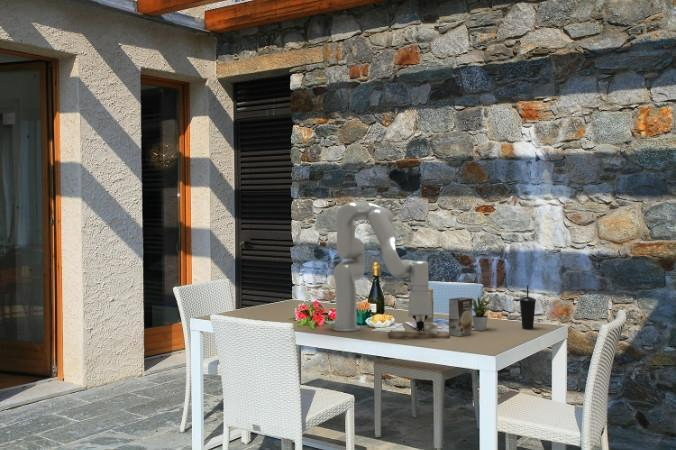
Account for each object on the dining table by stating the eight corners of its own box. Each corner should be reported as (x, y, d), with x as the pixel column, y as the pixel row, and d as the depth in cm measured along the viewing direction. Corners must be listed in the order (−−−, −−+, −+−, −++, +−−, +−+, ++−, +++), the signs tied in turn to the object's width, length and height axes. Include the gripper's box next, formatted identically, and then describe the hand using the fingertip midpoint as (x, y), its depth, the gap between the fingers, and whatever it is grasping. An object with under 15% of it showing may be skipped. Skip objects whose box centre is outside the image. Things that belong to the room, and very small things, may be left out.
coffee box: (459, 336, 323) (459, 300, 322) (448, 334, 327) (448, 298, 327) (472, 333, 329) (472, 298, 328) (461, 332, 334) (461, 296, 333)
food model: (436, 328, 342) (436, 286, 341) (429, 331, 337) (428, 287, 336) (418, 326, 348) (418, 284, 347) (411, 328, 343) (410, 286, 342)
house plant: (496, 333, 330) (496, 297, 329) (465, 332, 332) (465, 296, 332) (496, 327, 343) (496, 292, 343) (466, 326, 346) (466, 292, 346)
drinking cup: (517, 329, 339) (517, 286, 338) (521, 326, 346) (521, 284, 345) (534, 330, 335) (534, 286, 335) (537, 327, 342) (537, 285, 341)
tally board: (390, 338, 320) (389, 335, 319) (388, 334, 330) (388, 331, 329) (449, 338, 319) (449, 335, 319) (446, 333, 329) (446, 330, 329)
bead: (425, 334, 321) (425, 325, 321) (424, 331, 327) (424, 322, 327) (437, 334, 321) (437, 324, 321) (435, 331, 327) (435, 322, 327)
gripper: (403, 290, 320) (403, 332, 321) (437, 289, 320) (438, 331, 320) (402, 288, 327) (402, 328, 328) (435, 287, 327) (436, 328, 328)
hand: (420, 330), depth 324 cm, fingers closed
